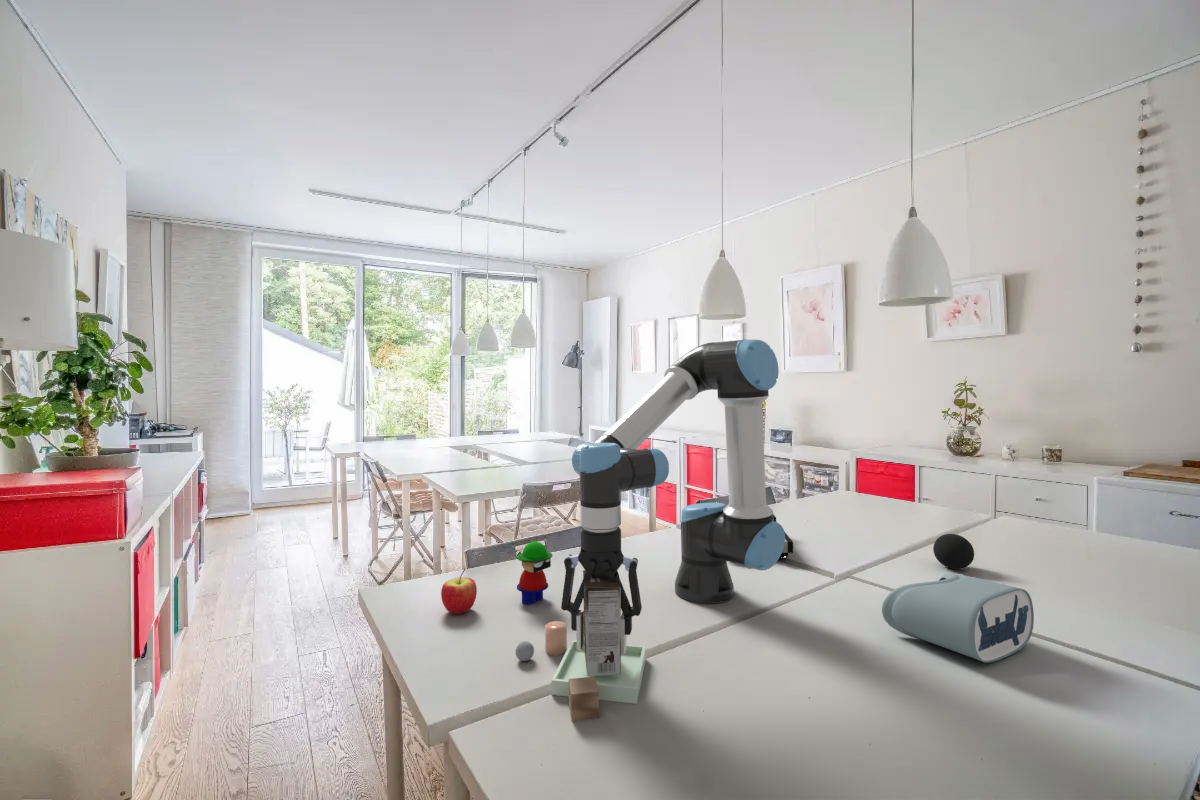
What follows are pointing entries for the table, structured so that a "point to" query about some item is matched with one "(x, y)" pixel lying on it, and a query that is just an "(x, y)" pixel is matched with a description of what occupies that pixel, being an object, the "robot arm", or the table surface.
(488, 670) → the table surface
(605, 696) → the tray
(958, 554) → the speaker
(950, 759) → the table surface
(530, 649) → the grey ball
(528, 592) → the toy
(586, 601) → the coffee box
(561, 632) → the peach rounded cylinder
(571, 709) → the walnut cube
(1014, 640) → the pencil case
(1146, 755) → the table surface
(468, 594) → the apple
